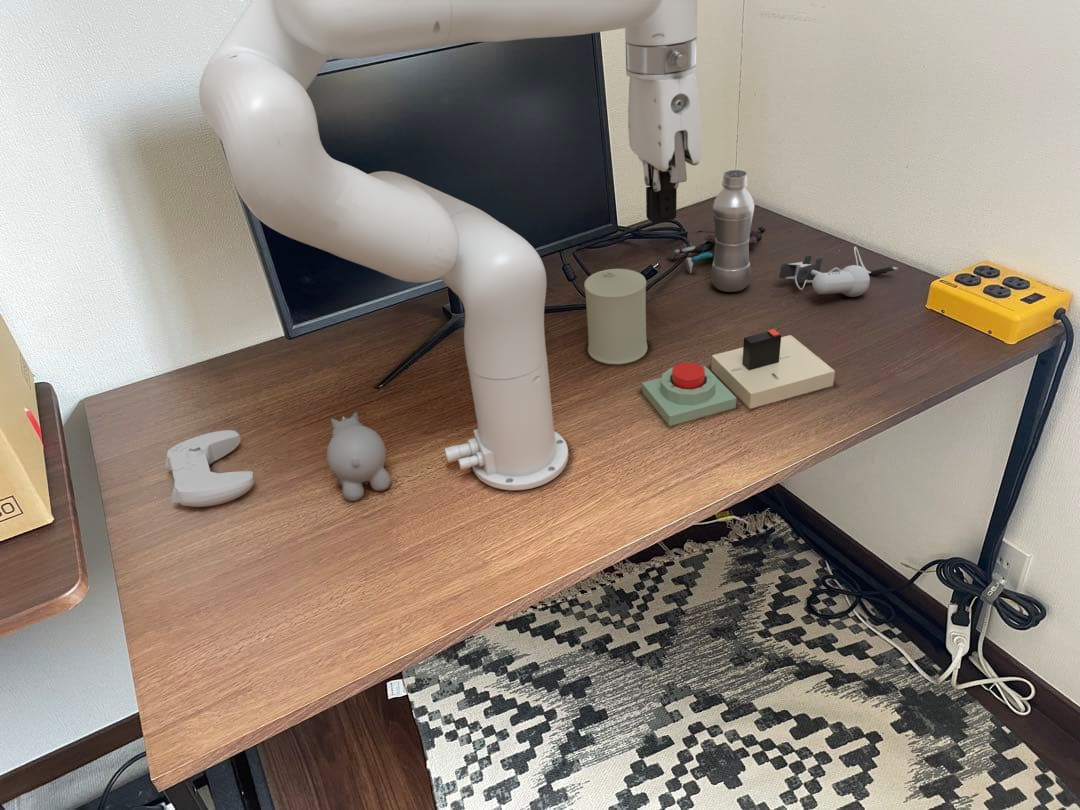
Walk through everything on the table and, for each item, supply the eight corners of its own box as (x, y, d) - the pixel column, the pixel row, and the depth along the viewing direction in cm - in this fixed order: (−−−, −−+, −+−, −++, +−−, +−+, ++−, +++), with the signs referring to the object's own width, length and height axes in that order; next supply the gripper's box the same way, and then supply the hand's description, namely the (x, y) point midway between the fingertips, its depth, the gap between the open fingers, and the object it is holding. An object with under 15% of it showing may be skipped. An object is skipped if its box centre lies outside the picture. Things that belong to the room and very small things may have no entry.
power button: (680, 393, 109) (681, 382, 108) (666, 377, 112) (666, 366, 111) (710, 385, 109) (710, 374, 108) (695, 369, 113) (695, 359, 112)
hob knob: (748, 370, 113) (750, 342, 110) (742, 364, 114) (743, 336, 111) (779, 362, 114) (781, 333, 111) (772, 356, 115) (774, 327, 112)
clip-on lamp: (849, 277, 144) (772, 284, 136) (857, 242, 141) (779, 246, 133) (903, 296, 134) (823, 304, 127) (912, 259, 132) (832, 265, 124)
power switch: (669, 426, 108) (669, 405, 106) (641, 392, 115) (641, 371, 113) (736, 408, 110) (737, 386, 108) (705, 375, 117) (705, 355, 115)
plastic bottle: (750, 297, 135) (758, 180, 124) (709, 296, 137) (713, 181, 125) (750, 279, 140) (757, 166, 129) (710, 279, 142) (714, 167, 130)
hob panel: (749, 409, 110) (750, 392, 108) (711, 369, 118) (711, 354, 117) (833, 385, 112) (835, 369, 111) (789, 349, 121) (790, 333, 119)
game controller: (257, 476, 102) (171, 492, 97) (260, 504, 104) (176, 521, 99) (236, 420, 113) (158, 432, 108) (239, 447, 115) (162, 460, 110)
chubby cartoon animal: (379, 440, 111) (366, 389, 106) (398, 492, 102) (384, 439, 97) (327, 455, 109) (311, 404, 105) (341, 509, 100) (325, 456, 95)
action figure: (690, 278, 144) (776, 252, 148) (690, 248, 140) (779, 222, 144) (668, 259, 150) (751, 234, 154) (668, 230, 146) (753, 205, 150)
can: (632, 328, 130) (631, 260, 123) (657, 355, 123) (657, 284, 116) (579, 342, 128) (574, 273, 121) (601, 370, 121) (597, 299, 114)
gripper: (726, 64, 82) (719, 234, 92) (662, 40, 93) (663, 193, 104) (658, 76, 80) (659, 248, 90) (602, 50, 92) (609, 204, 102)
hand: (661, 218), depth 97 cm, fingers closed
